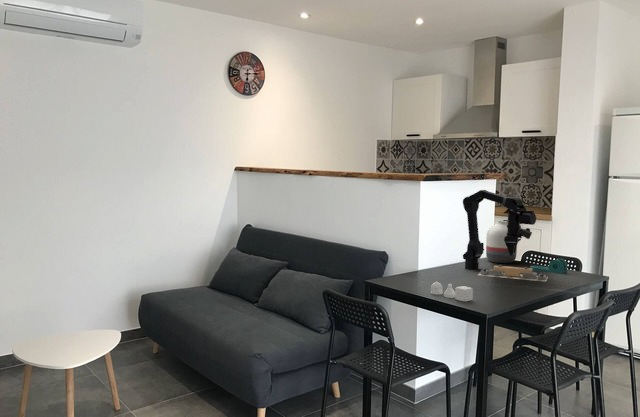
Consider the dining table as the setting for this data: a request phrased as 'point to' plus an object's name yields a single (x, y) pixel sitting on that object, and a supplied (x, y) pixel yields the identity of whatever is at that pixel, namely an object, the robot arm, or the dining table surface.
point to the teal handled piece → (553, 267)
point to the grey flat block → (534, 276)
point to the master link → (512, 270)
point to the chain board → (514, 277)
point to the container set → (453, 292)
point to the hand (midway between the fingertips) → (512, 254)
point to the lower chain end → (491, 272)
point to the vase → (498, 244)
